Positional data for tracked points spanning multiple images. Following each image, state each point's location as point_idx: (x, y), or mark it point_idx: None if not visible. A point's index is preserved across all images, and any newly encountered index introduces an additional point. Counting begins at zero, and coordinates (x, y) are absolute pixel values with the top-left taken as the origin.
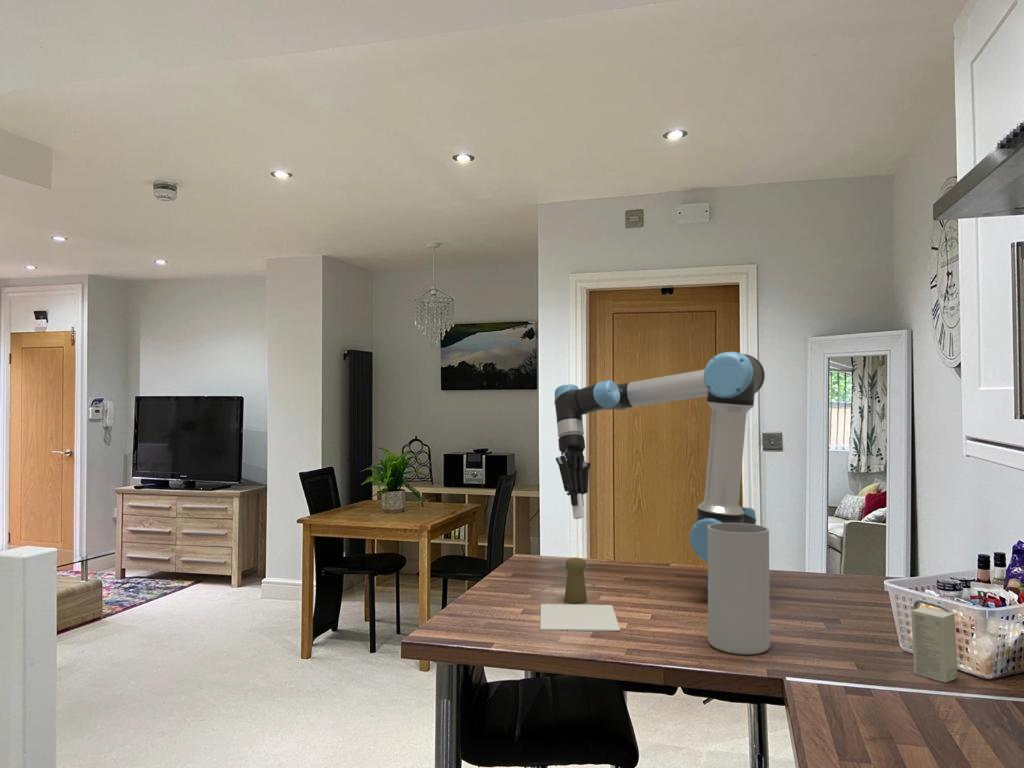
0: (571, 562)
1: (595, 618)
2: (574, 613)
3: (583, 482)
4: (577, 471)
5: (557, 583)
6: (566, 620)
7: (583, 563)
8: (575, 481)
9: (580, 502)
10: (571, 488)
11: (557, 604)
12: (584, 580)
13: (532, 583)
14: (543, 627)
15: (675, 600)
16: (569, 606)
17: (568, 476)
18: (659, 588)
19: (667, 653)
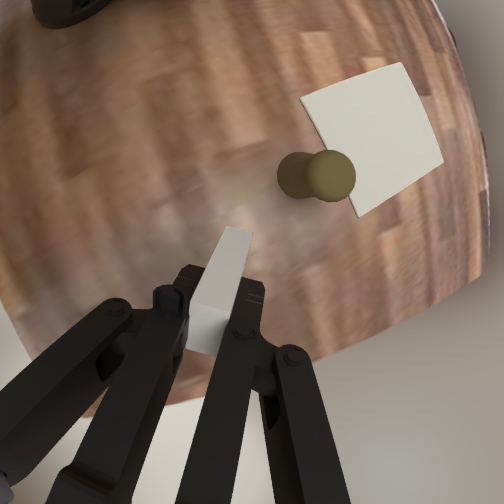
0: (355, 177)
1: (380, 102)
2: (377, 141)
3: (83, 377)
4: (122, 487)
5: None
6: (408, 141)
7: (337, 151)
8: (231, 399)
9: (232, 270)
10: (306, 353)
11: None
12: (308, 156)
13: None
14: (439, 160)
15: (190, 20)
16: None
17: (331, 443)
18: (115, 76)
19: (420, 14)
